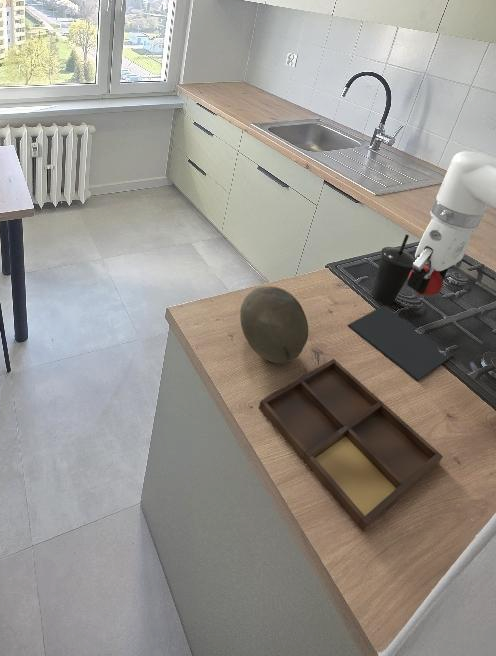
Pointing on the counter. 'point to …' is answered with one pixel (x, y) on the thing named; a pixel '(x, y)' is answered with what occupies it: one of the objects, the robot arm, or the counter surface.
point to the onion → (432, 282)
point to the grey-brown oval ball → (274, 324)
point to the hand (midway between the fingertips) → (424, 283)
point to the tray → (350, 440)
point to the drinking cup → (392, 273)
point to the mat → (400, 342)
